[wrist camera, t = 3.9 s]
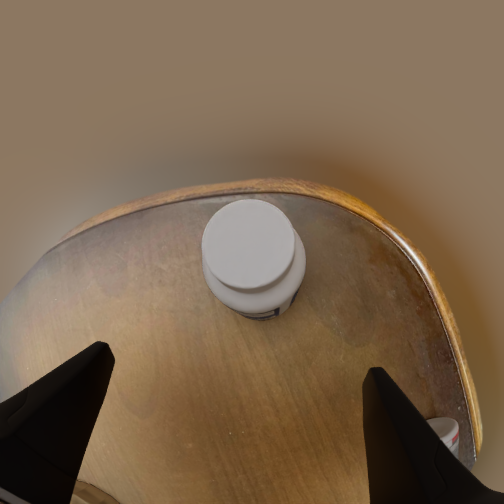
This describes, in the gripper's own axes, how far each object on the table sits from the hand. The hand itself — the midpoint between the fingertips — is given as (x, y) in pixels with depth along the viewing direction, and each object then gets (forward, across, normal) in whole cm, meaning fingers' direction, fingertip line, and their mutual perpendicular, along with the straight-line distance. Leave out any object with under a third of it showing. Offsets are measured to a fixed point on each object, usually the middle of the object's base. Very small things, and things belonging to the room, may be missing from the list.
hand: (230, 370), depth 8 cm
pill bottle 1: (+12, 0, +5) cm, 13 cm away
